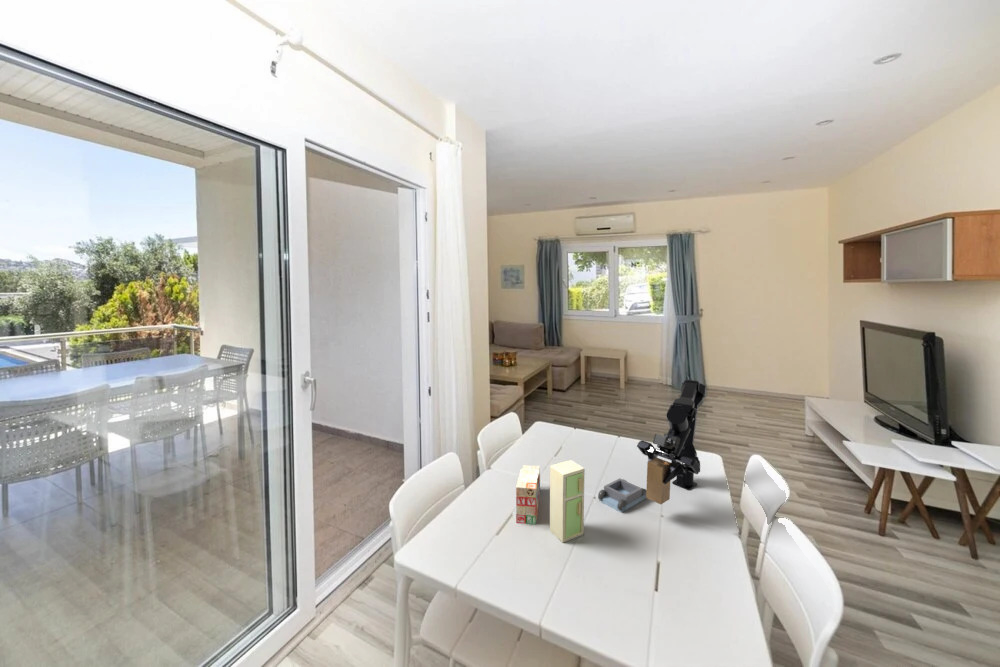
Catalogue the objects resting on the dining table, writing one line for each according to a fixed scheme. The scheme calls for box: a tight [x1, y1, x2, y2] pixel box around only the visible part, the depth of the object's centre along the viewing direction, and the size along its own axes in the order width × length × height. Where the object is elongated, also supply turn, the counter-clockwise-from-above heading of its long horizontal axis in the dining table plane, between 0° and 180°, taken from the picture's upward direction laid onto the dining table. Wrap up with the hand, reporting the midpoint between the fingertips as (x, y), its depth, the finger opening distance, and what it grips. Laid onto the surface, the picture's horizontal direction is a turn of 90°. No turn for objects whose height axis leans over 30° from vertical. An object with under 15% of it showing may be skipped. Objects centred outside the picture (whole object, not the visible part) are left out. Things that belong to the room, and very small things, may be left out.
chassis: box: [597, 477, 647, 513], centre depth 134 cm, size 15×9×4 cm, turn 127°
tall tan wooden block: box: [645, 457, 671, 505], centre depth 121 cm, size 5×5×12 cm
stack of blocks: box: [515, 464, 541, 525], centre depth 130 cm, size 21×6×12 cm, turn 170°
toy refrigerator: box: [549, 459, 586, 543], centre depth 114 cm, size 8×7×21 cm
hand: (656, 479), depth 120 cm, fingers closed on tall tan wooden block, 5 cm apart
